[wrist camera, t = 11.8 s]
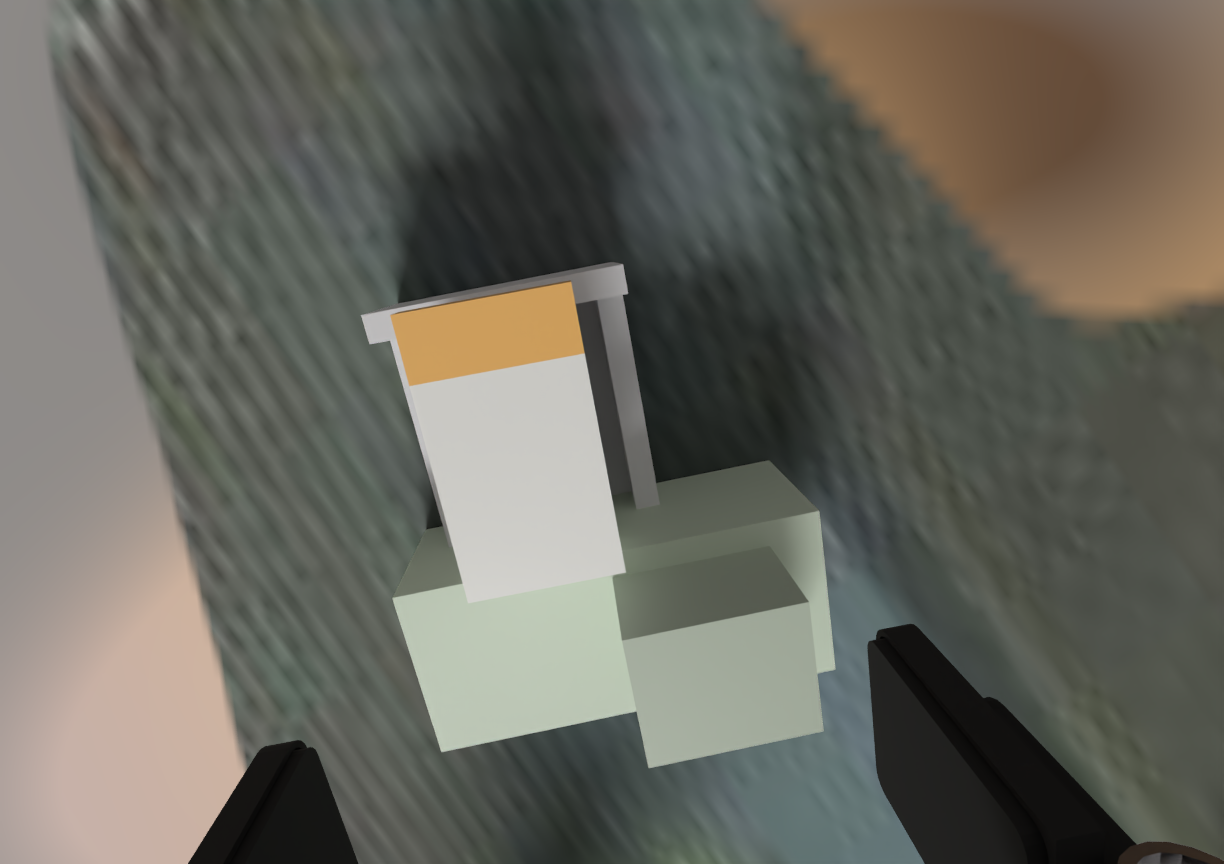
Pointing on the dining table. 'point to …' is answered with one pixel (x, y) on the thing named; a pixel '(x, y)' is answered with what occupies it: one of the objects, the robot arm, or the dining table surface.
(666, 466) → the dining table surface
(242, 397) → the dining table surface
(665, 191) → the dining table surface
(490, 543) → the orange-topped white box
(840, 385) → the dining table surface
